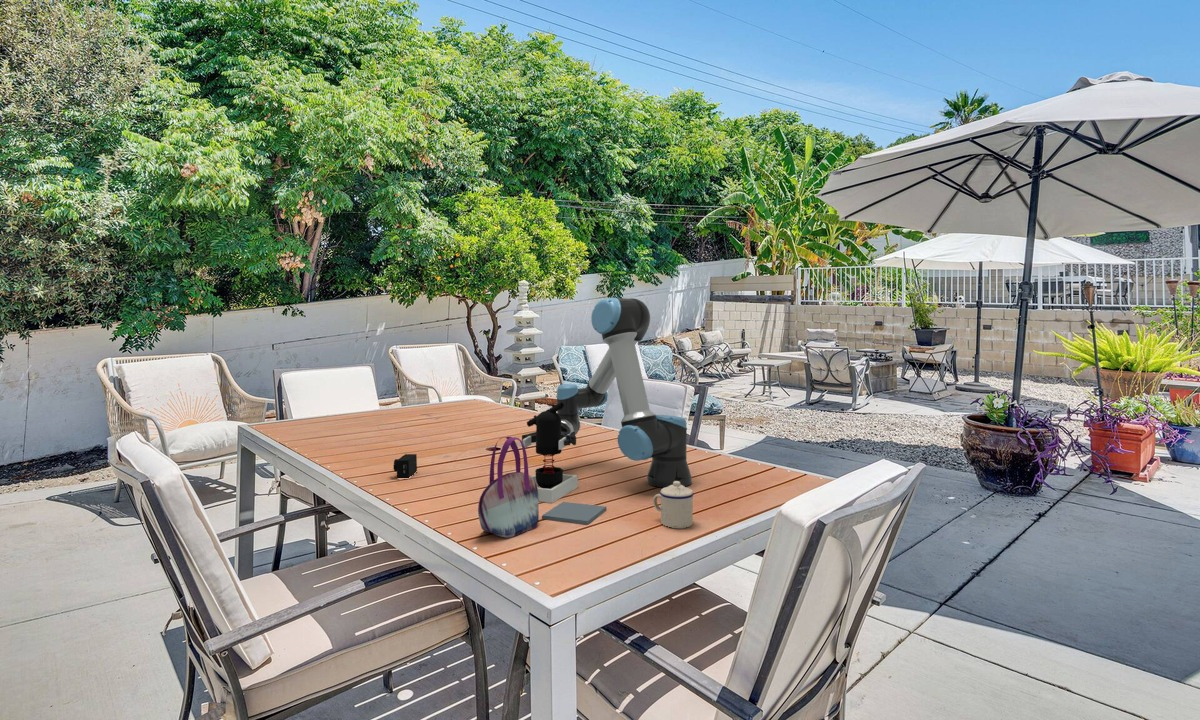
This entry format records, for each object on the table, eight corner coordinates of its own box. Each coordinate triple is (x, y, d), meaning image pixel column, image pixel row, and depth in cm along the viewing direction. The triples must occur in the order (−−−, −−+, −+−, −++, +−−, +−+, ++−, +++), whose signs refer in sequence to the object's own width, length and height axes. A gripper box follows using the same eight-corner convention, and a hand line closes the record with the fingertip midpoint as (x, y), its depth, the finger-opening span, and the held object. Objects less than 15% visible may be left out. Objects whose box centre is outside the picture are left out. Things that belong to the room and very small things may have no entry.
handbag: (524, 515, 177) (523, 429, 175) (551, 522, 171) (550, 432, 169) (467, 537, 160) (465, 441, 158) (494, 545, 154) (492, 446, 152)
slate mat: (606, 509, 182) (606, 506, 182) (587, 524, 169) (587, 521, 169) (563, 504, 187) (563, 501, 187) (542, 518, 174) (541, 515, 174)
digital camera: (402, 472, 228) (401, 453, 228) (417, 472, 229) (416, 453, 228) (393, 479, 218) (392, 460, 218) (409, 479, 218) (408, 460, 218)
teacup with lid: (699, 522, 170) (699, 480, 169) (682, 531, 163) (682, 488, 162) (662, 514, 177) (662, 474, 177) (644, 522, 170) (644, 481, 169)
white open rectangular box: (577, 487, 206) (577, 475, 206) (552, 503, 189) (552, 490, 189) (540, 483, 212) (540, 471, 211) (512, 498, 194) (512, 485, 194)
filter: (571, 491, 201) (571, 400, 199) (557, 499, 193) (556, 404, 191) (535, 486, 207) (535, 397, 205) (520, 493, 199) (519, 401, 197)
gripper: (593, 444, 215) (577, 457, 193) (528, 441, 219) (506, 454, 198) (593, 422, 214) (577, 434, 193) (528, 420, 219) (506, 431, 198)
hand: (541, 444), depth 195 cm, fingers closed on filter, 11 cm apart
